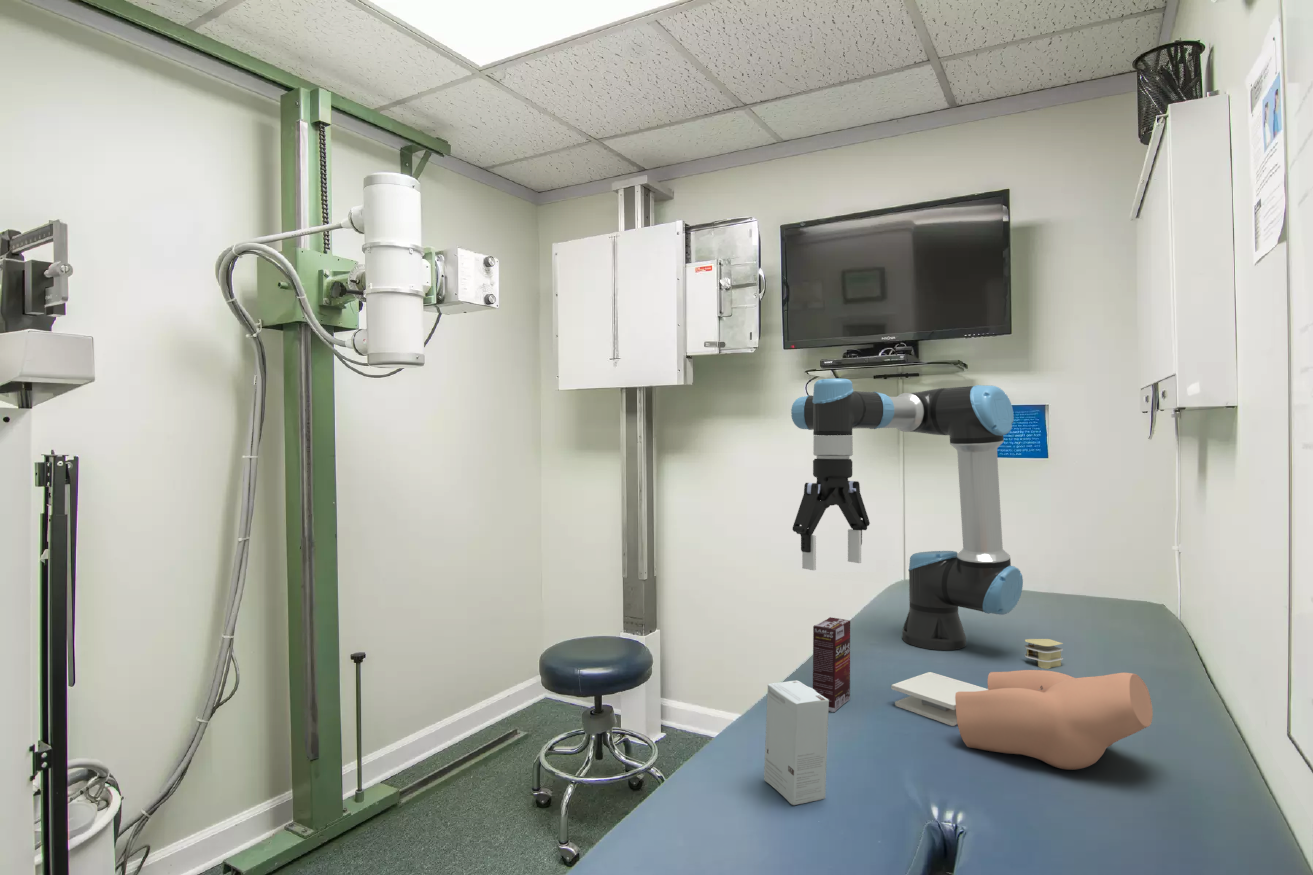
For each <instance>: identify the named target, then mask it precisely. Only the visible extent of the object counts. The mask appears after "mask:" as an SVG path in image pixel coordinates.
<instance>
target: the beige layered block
mask: <svg viewBox="0 0 1313 875" xmlns="http://www.w3.org/2000/svg"><path fill="white" fill-rule="evenodd" d="M1024 641H1025V642H1026V643H1028V644H1024V648H1025V649H1026V653H1024V656H1025V658H1027V659H1030V660H1031V659H1032V660H1035V661H1036V664H1037V666H1038V668H1040V669H1045V670H1046V669H1048V670H1049V669H1051V668H1055V667H1062V660H1064V657H1062V651H1064V649H1063V648H1061V647H1057V646H1059V645H1063V644H1064V643H1063V642H1060V641H1057V640H1054V639H1050V638H1028V639H1026V638H1025V639H1024Z"/></svg>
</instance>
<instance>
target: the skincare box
mask: <svg viewBox="0 0 1313 875" xmlns="http://www.w3.org/2000/svg"><path fill="white" fill-rule="evenodd" d="M766 694H767V695H766V696H767V699H766V701H767V702H766V721H765V722H766V723H765V747H764V766H763V768H764V771H763V772H764V773H763V774H764V775H763V779H764V781H765V782H766V783H767V784H769V785H770V786H771V787H772V788H773V789H774V790H775V791H777V792H778V793H779V794H780V795H781V796H782V797H783V798H784V799H785V800H786V801H787V802H788V803H789V804H790V805H792V806H796V805H802V804H807V803H811V802H812V803H813V802H816V801H821V800H825V799H826V790H827V789H826V787H827V785H826V783H827V758H828V757H827V756H828V733H829V732H828V730H829V727H828V726H829V711H828V710H829V700H828V699H827V698H825V697H823V696H822V695H820V694H819V693H817V692H816V691H815V690H814V689H813V687H810V686H807V685H806V684H804V683H803V682H801V681H799V680H789V681H781V682H772V683H767V693H766Z"/></svg>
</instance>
